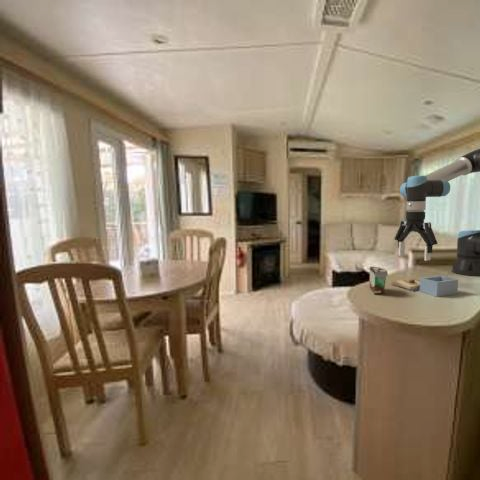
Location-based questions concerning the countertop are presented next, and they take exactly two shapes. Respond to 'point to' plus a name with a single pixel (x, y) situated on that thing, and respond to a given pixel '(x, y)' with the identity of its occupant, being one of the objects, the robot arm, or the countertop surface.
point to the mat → (408, 289)
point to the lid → (408, 283)
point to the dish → (438, 285)
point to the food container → (377, 280)
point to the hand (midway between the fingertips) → (413, 257)
